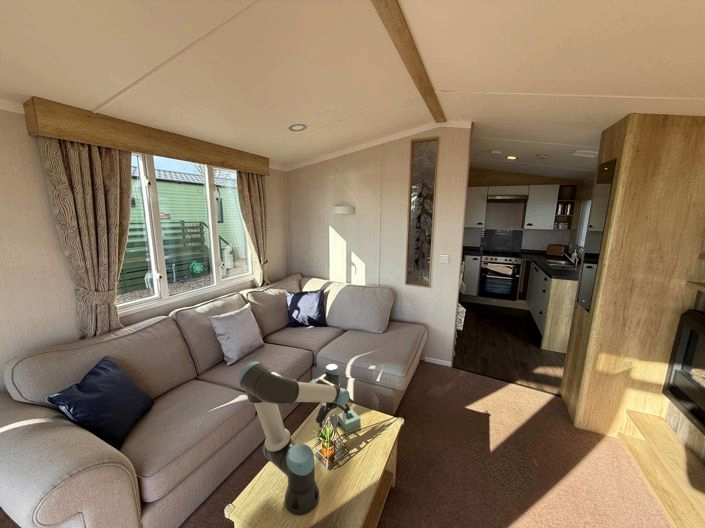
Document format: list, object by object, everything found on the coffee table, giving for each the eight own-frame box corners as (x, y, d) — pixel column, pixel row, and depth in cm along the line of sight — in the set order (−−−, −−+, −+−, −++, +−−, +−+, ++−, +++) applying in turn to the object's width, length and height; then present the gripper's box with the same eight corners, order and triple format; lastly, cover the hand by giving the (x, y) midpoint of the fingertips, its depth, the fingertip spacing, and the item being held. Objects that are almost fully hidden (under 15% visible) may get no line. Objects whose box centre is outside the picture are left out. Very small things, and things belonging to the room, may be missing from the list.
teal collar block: (345, 431, 175) (345, 424, 175) (337, 420, 184) (337, 414, 183) (360, 424, 180) (360, 418, 180) (352, 415, 189) (352, 408, 188)
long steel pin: (332, 442, 167) (331, 418, 164) (329, 438, 170) (329, 414, 167) (337, 440, 169) (337, 416, 166) (334, 436, 171) (334, 412, 169)
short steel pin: (333, 426, 179) (332, 418, 179) (330, 423, 182) (330, 415, 181) (337, 424, 181) (337, 416, 180) (335, 421, 184) (335, 413, 183)
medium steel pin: (321, 432, 175) (321, 418, 173) (319, 429, 177) (318, 415, 176) (326, 430, 176) (326, 416, 175) (324, 427, 179) (323, 413, 177)
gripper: (314, 404, 155) (315, 440, 159) (356, 389, 167) (356, 422, 171) (308, 396, 161) (310, 431, 165) (349, 382, 173) (349, 415, 177)
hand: (333, 427), depth 168 cm, fingers open, 13 cm apart
